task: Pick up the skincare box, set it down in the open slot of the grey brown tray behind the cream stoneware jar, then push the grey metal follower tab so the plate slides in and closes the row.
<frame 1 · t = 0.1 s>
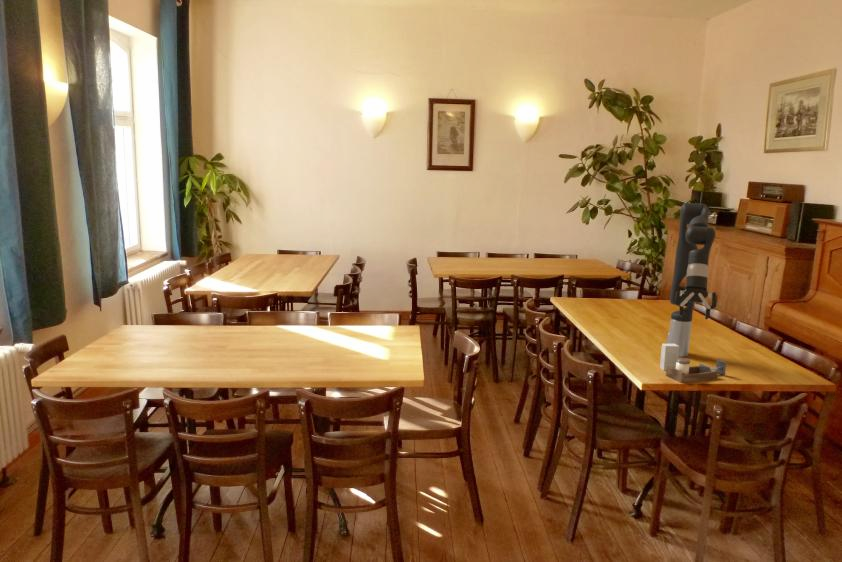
hand: (693, 318, 224), 31 cm above the table, tool tilted 20°, fingers open, 8 cm apart
pusher: (713, 368, 253), point 3 cm above the table, slide at 0.0 cm
skincare box: (667, 371, 259), on the table
stoneware jar: (681, 378, 247), point 1 cm above the table, touching grey brown tray
grey brown tray: (692, 378, 250), on the table
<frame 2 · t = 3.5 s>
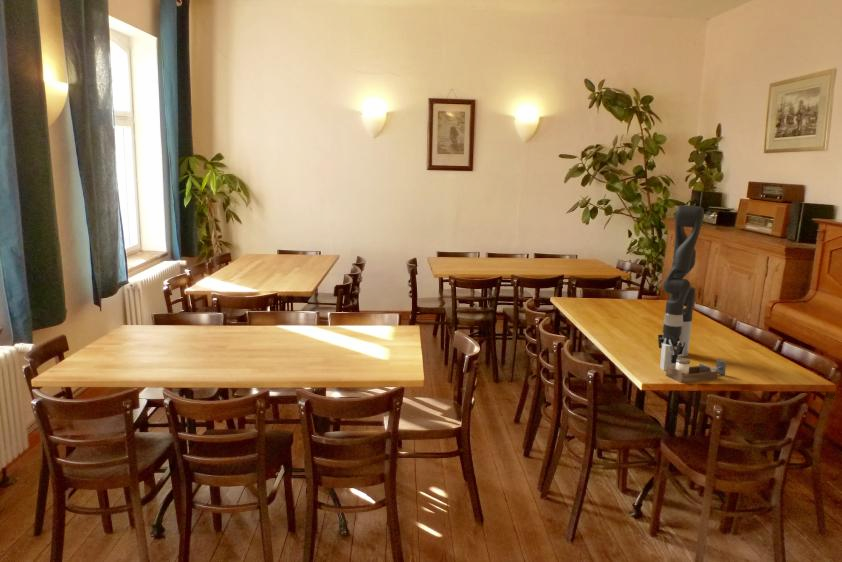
hand: (668, 360, 258), 5 cm above the table, tool pointing down, fingers closed on skincare box, 5 cm apart
skincare box: (667, 371, 259), on the table, touching gripper
everything else where it was.
when the fingers open (7 cm above the table, at t = 7.7 s): skincare box drops 1 cm, resting on grey brown tray.
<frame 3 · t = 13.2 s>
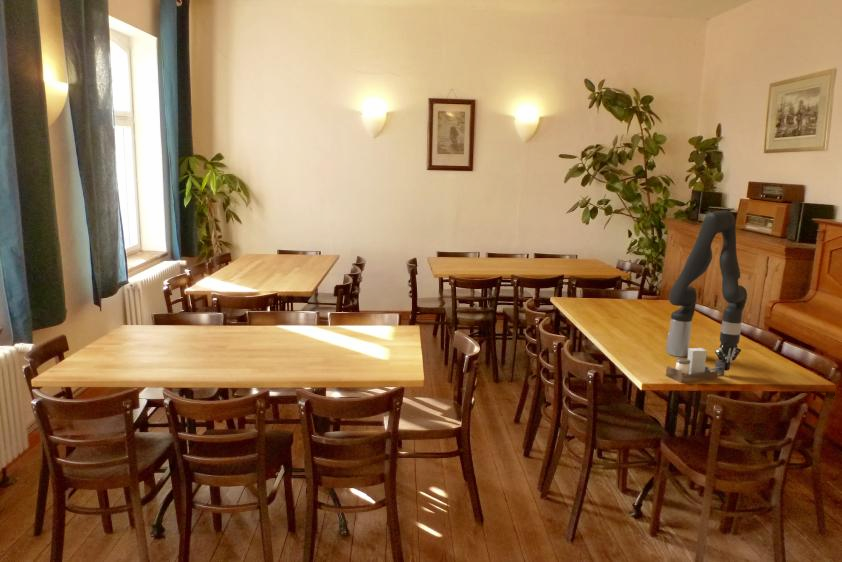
hand: (725, 369, 255), 2 cm above the table, tool pointing down, fingers closed
pusher: (712, 368, 252), point 3 cm above the table, slide at 0.6 cm, touching gripper
skincare box: (694, 376, 250), point 1 cm above the table, touching grey brown tray
everything else where it was.
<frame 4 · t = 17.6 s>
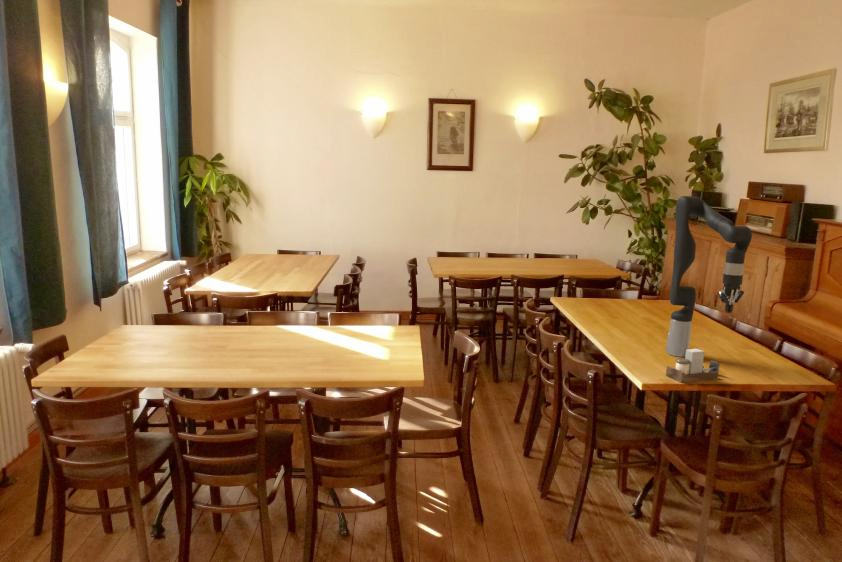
hand: (728, 312, 253), 27 cm above the table, tool pointing down, fingers closed
pusher: (706, 369, 251), point 3 cm above the table, slide at 3.8 cm
skincare box: (691, 377, 249), point 1 cm above the table, touching grey brown tray, stoneware jar
stoneware jar: (681, 378, 247), point 1 cm above the table, touching grey brown tray, skincare box
at the end: skincare box inside the target area (2.0 cm from its centre), point 0.6 cm above the table; skincare box tilted 0°; pusher slide at 3.8 cm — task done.
